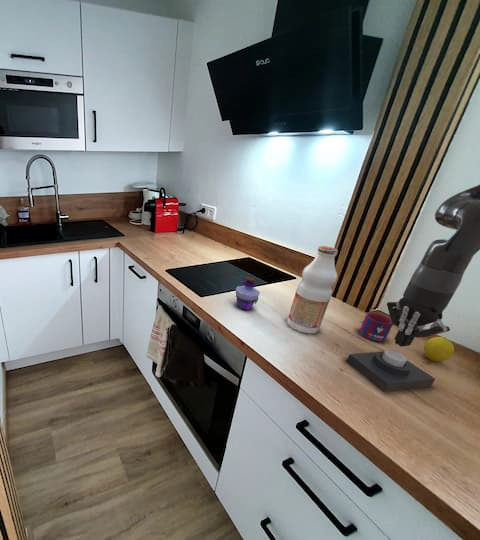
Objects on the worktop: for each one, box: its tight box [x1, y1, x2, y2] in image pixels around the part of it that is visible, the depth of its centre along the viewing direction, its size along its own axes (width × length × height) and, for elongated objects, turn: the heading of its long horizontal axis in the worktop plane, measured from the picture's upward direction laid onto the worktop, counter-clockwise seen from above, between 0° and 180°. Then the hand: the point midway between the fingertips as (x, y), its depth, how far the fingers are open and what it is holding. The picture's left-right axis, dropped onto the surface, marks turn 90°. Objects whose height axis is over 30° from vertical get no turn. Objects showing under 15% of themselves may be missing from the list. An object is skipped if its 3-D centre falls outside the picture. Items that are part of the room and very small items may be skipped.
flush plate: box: [346, 350, 436, 393], centre depth 76 cm, size 14×11×4 cm
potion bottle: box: [235, 276, 261, 312], centre depth 106 cm, size 9×9×12 cm
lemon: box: [423, 336, 455, 362], centre depth 81 cm, size 6×6×8 cm
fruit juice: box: [286, 245, 339, 334], centre depth 92 cm, size 9×9×28 cm
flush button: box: [382, 349, 408, 367], centre depth 75 cm, size 4×4×2 cm
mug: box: [358, 310, 394, 343], centre depth 93 cm, size 7×10×7 cm
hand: (400, 344), depth 73 cm, fingers closed
